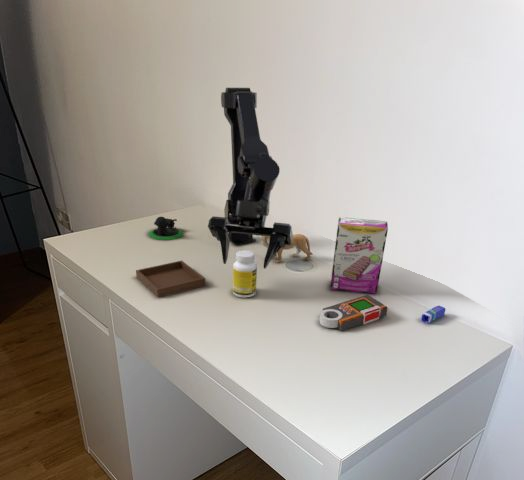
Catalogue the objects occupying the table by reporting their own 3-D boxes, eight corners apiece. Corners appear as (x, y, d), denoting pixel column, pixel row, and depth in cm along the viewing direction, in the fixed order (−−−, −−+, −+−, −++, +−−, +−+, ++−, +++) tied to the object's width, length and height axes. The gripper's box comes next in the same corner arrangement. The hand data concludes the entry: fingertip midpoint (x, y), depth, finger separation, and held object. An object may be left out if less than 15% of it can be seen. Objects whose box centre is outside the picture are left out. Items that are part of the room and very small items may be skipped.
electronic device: (313, 310, 114) (369, 292, 120) (313, 322, 116) (367, 304, 122) (332, 324, 109) (389, 305, 115) (331, 336, 111) (387, 317, 117)
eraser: (420, 320, 117) (422, 312, 116) (436, 312, 120) (438, 304, 119) (427, 324, 115) (429, 316, 114) (444, 316, 119) (446, 308, 118)
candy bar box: (329, 290, 128) (337, 223, 119) (330, 281, 132) (337, 216, 123) (377, 295, 127) (388, 227, 118) (377, 286, 131) (387, 220, 122)
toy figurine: (188, 229, 160) (187, 210, 156) (176, 241, 151) (175, 221, 148) (156, 226, 161) (155, 207, 158) (142, 237, 153) (140, 217, 150)
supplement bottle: (255, 298, 123) (256, 258, 118) (231, 297, 123) (231, 257, 118) (256, 288, 128) (257, 249, 122) (233, 287, 128) (233, 248, 122)
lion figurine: (266, 266, 138) (267, 233, 134) (258, 259, 143) (259, 226, 138) (316, 259, 144) (319, 226, 139) (307, 252, 148) (310, 220, 143)
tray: (182, 267, 136) (181, 260, 135) (205, 285, 128) (205, 278, 127) (136, 277, 130) (135, 270, 129) (157, 297, 122) (157, 289, 121)
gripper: (209, 180, 118) (195, 246, 115) (293, 187, 115) (282, 255, 112) (219, 205, 129) (207, 266, 125) (297, 212, 126) (286, 275, 122)
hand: (244, 265), depth 121 cm, fingers open, 9 cm apart
